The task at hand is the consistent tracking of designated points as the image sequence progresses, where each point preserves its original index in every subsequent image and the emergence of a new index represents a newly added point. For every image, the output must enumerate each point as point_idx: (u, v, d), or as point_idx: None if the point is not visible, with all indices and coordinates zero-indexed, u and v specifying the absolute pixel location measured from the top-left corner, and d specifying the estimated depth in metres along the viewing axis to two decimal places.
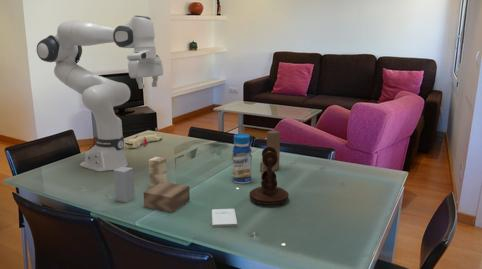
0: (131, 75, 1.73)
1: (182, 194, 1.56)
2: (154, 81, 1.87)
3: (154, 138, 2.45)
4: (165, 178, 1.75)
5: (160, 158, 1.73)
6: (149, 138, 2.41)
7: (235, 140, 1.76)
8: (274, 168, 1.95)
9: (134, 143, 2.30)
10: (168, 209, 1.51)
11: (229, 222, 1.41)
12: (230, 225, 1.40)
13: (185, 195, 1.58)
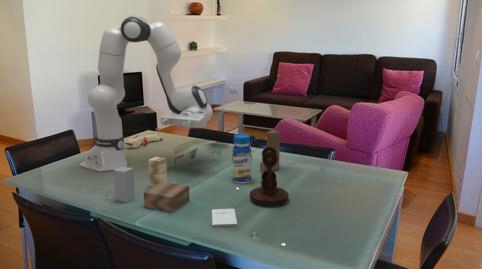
0: (200, 122, 1.81)
1: (182, 194, 1.56)
2: None
3: (155, 138, 2.45)
4: (165, 178, 1.75)
5: (160, 158, 1.73)
6: (149, 138, 2.41)
7: (235, 140, 1.76)
8: (274, 168, 1.95)
9: (134, 143, 2.30)
10: (169, 209, 1.51)
11: (229, 222, 1.41)
12: (230, 225, 1.40)
13: (185, 195, 1.58)
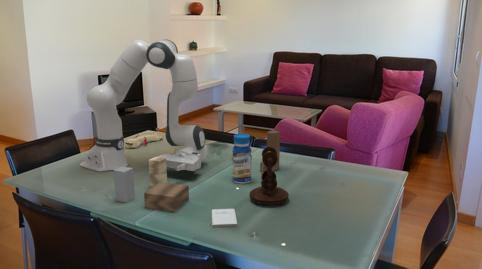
0: (194, 165, 1.80)
1: (182, 194, 1.57)
2: None
3: (155, 138, 2.45)
4: (165, 178, 1.75)
5: (160, 158, 1.73)
6: (149, 138, 2.42)
7: (235, 140, 1.76)
8: (274, 168, 1.95)
9: (134, 143, 2.31)
10: (170, 209, 1.51)
11: (229, 222, 1.41)
12: (230, 225, 1.40)
13: (185, 195, 1.59)
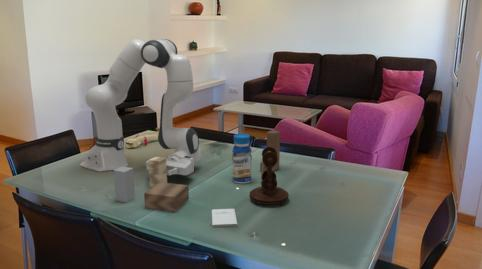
0: (186, 169, 1.75)
1: (183, 193, 1.57)
2: None
3: (155, 138, 2.45)
4: (165, 178, 1.75)
5: (160, 158, 1.73)
6: (149, 138, 2.42)
7: (235, 140, 1.76)
8: (274, 168, 1.95)
9: (134, 143, 2.31)
10: (171, 209, 1.51)
11: (229, 222, 1.41)
12: (230, 225, 1.40)
13: (185, 195, 1.59)
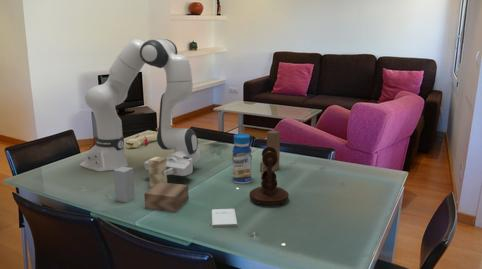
0: (185, 170, 1.74)
1: (183, 193, 1.57)
2: None
3: (155, 138, 2.45)
4: (165, 178, 1.75)
5: (160, 158, 1.73)
6: (150, 138, 2.42)
7: (235, 140, 1.76)
8: (274, 168, 1.95)
9: (135, 143, 2.31)
10: (171, 209, 1.52)
11: (229, 222, 1.41)
12: (230, 225, 1.40)
13: (185, 194, 1.59)
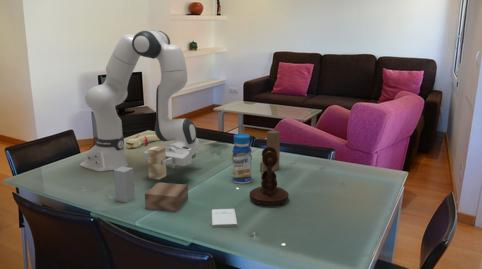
0: (184, 160, 1.73)
1: (183, 193, 1.57)
2: None
3: (155, 138, 2.46)
4: (164, 168, 1.74)
5: (159, 147, 1.72)
6: (150, 138, 2.42)
7: (235, 140, 1.76)
8: (274, 168, 1.95)
9: (135, 143, 2.31)
10: (172, 208, 1.52)
11: (229, 222, 1.41)
12: (230, 225, 1.40)
13: (185, 194, 1.59)
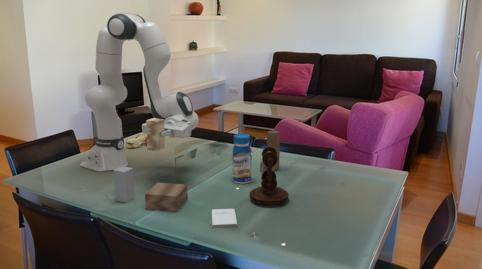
0: (183, 132, 1.70)
1: (183, 193, 1.57)
2: None
3: None
4: (163, 140, 1.71)
5: (158, 119, 1.69)
6: None
7: (235, 140, 1.76)
8: (274, 168, 1.95)
9: (135, 143, 2.31)
10: (173, 208, 1.52)
11: (229, 222, 1.41)
12: (230, 225, 1.40)
13: (185, 194, 1.60)
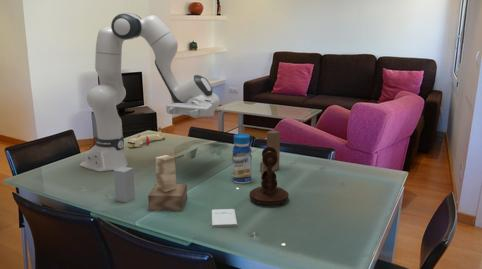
0: (208, 111, 1.74)
1: (184, 192, 1.58)
2: None
3: (157, 138, 2.47)
4: (173, 180, 1.56)
5: (168, 157, 1.55)
6: (151, 138, 2.43)
7: (235, 140, 1.76)
8: (274, 168, 1.95)
9: (136, 142, 2.32)
10: (177, 208, 1.52)
11: (229, 222, 1.40)
12: (230, 225, 1.40)
13: (185, 193, 1.60)
